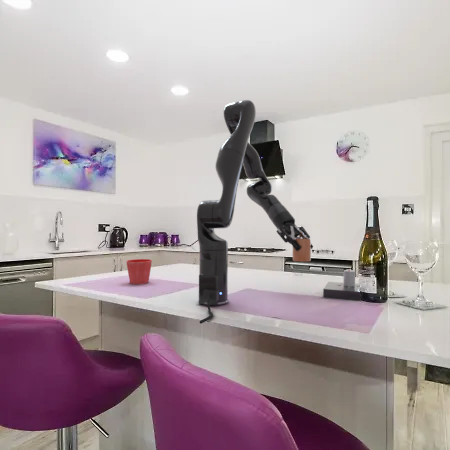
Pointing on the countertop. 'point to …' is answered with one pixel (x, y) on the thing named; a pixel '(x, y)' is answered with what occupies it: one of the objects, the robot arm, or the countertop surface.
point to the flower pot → (139, 270)
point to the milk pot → (303, 251)
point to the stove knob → (349, 278)
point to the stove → (341, 291)
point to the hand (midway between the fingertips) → (305, 248)
